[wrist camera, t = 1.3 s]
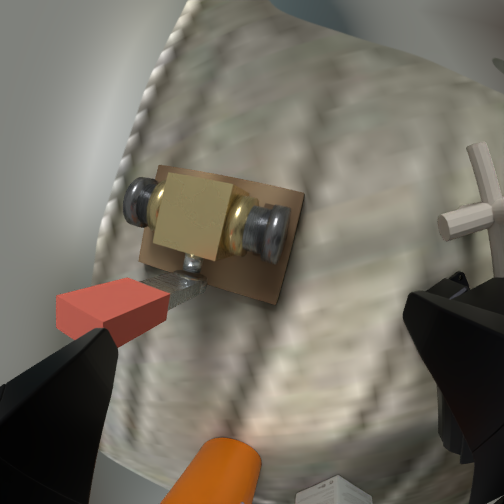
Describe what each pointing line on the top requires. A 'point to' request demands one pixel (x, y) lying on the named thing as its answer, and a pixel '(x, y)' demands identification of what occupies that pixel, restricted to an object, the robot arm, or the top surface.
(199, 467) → the shaker bottle
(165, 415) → the top surface
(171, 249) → the valve stand
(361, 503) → the skincare box
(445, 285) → the robot arm
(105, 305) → the valve lever
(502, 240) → the pipe connector
